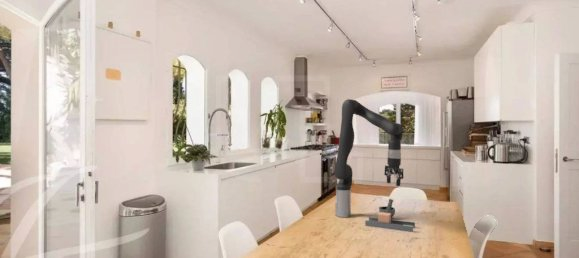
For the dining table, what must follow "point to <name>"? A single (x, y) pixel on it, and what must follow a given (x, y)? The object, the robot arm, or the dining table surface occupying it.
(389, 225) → the chute
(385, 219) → the terracotta block
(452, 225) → the dining table surface
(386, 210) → the mortar and pestle
